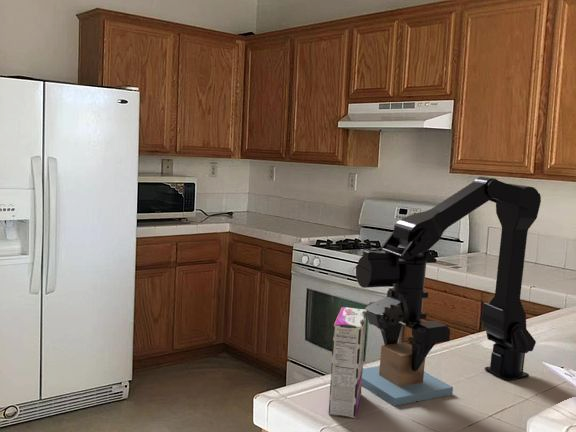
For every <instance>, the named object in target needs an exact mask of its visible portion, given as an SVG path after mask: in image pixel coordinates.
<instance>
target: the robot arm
mask: <svg viewBox="0 0 576 432" xmlns="http://www.w3.org/2000/svg"><path fill="white" fill-rule="evenodd" d="M541 200H542V197H541V194H540V193H539V191H538V190H537V188H536V187H534V186H529V185H523V184H522V185H521V184H516V183H506V182H503V181H500V180H498V179H497V178H495V177H488V176H487V177H486V176H479V177H476V178H474V180H472V182H471V183H469V184H468V185H466V186H465V187H463V188H461V189H460V190H458V191H457V192H455V193H454V194H453V195H452V194H451V195H450V196H449V197H447V198H446V199H444V200H443V201H441V202H440V203H438V204H437V205H435V206H434V207H432V208H430V209H427V210H424V211H420V212H417V213H412V214H411V215H408V216H406V217H403V218H401V219H398V221H397V222H395V224H394V226H393V231H391V233H390V235H388V236H389V237H388V238H387V239H386V240H385V242H384V243H383V244H382V246H381V247H380V248H379V250H369V249H365V250H363V251H362V257H360V258H359V259H358V261H357V265H356V266H355V277H356V280H357V284H358V285H359V286H360V287H361V288H363V289H365V288H367V289H369V288H384V287H385V288H387V287H388V290H387V292H386V297H385V298H381V299H378V300H376V301H370V302H369V303H368V304H367V305H366V306H365V308H364V309H365V310H367V313H366V319H367V322H368V324H369V325H371V326H372V325H373V326H375V327H376V328H377V329H379V330H380V332H381V336H382V339H383V344H384V345H390V344H397V343H399V339H400V334H401V330H402V327H403V326H405V327H406V328H409V329H411V335H412V337H411V336H410V337H409V336H408V337H407V338H406V339H407V340H408V342H409V343H410V345H412V371H417V370H418V369H419V367H420V366H421V364H422V362H423V361H424V359H425V360H426V357H427V356H428V355H429V353H430V351H431V350H432V349H433V348H434V346H436V344H439V343H444V342H446V343H447V342H450V340H451V339H450V337H451V328H449V326H448V325H446V324H444V323H442V322H440V321H437V320H428V321H427V320H426V321H422V320H425V319H427V313H426V312H424V311H423V307H424V306H423V304H424V299H427V298H428V299H429V292H428V291H425V281H426V272H427V271H426V270H427V264H436V263H437V258H435V256H433V255H432V253H431V251H430V249H431V248H433V247H434V246H435V245H436V244H437V243H438V242H439V241H440V240H441V238H442V236H443V234H444V232H445V231H446V230H447V229H448V228H450V227H451V226H452V225H454V224H455V223H457V222H459V221H460V220H462V219H463V218H465V217H466V216H468V215H469V214H470V213H472V212H473V211H475V210H477V209H478V208H480V207H481V206H483V205H484V204H486V203H488V202H493V203H495V211H496V212H495V214H496V215H497V216H496V217H497V218H498V221H499V224H500V225H501V234H500V241H499V242H500V243H499V254H498V263H497V271H496V282H495V290H494V295H493V297H492V298H491V300H490V301H489V302H483V305H482V315H481V318H480V322H481V323H482V327H483V329H484V330H485V333H486V337H487V340H488V341H492V342H493V345H492V351H491V355H490V363H489V364H490V365H489V366H485V367H484V370H485V371H486V372H489V373H491V374H493V375H495V376H497V377H499V378H501V379H503V380H506V381H512V380H518V379H522V378H528V377H529V375H530V374H529V373H527V372H525V371H524V366H525V356H526V354H528V353H529V352H533V351H534V348H535V346H536V343H537V341H536V339H535V338H534V337H533V335H532V334H531V333H530V332H529V330H528V329H527V314H526V311H525V309H524V306H523V304H522V303H523V302H522V300H521V292H522V285H523V284H522V283H523V277H524V276H523V275H524V267H525V265H524V264H525V257H526V249H527V240H528V239H527V238H528V232H529V230H530V228H531V227H532V225H533V224H534V223H535V221H536V220H537V217H538V214H539V212H540V208H541V202H542V201H541ZM392 286H393V287H392Z"/></svg>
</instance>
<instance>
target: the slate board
mask: <svg viewBox="0 0 576 432" xmlns="http://www.w3.org/2000/svg"><path fill="white" fill-rule="evenodd" d="M379 369H380V365H377V366H372V367H371V366H370V367H365V368H363V371H362V386H361V387H363V388H365V389H367V390H369V391H370V392H371V393H373V394H375V396H378V397H380V398H381V399H382V400H384V401H386V402H387V403H388V404H390V405H391V404H392V405H391V406H393V407H397V405H398V406H401V405H402V404H403V405H406V403H408V404H411V403H412V402H413V403H417V402H416V401H418V402H421V401H422V400H423V401H427V400H431V399H437V398H443V397H448V396H452V395H453V394H454V393H453V392H454V387H453V386H452V385H450V384H448V383H447V382H445V381H442V380H441V379H439V378H437V377H435V376H434V375H431V374H429V373H427V372H426V371H424V377H423V382H422V383H416V384H411V385H405V386H400V387H398V386H396V385H395V384H393V383H391V382H390V381H388V380H386V379H385V378H383V377H381V376H380V375H379Z"/></svg>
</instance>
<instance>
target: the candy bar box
mask: <svg viewBox="0 0 576 432" xmlns="http://www.w3.org/2000/svg"><path fill="white" fill-rule="evenodd" d="M366 313H367V310H366V309H365V308H364V309H363V308H357V307H349V306H343V307H341V308H340V311H339V312H338V315H337V317H336V320H335V322H334V324H333V336H332V348H331V349H332V350H331V366H330V367H331V370H330V371H331V373H330V385H329V386H330V387H329V388H330V390H329V401H328V403H329V405H328V415H330V416H333V417H341V418H348V419H349V418H350V419H356V417H357V412H358V408H359V404H360V400H361V395H362V387H363V386H362V371H363V367H364V355H365V354H364V353H365V352H364V351H365V338H366V325H367V324H366V323H367V322H366V321H367V316H366Z"/></svg>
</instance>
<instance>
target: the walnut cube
mask: <svg viewBox="0 0 576 432" xmlns="http://www.w3.org/2000/svg"><path fill="white" fill-rule="evenodd" d="M425 363H426V358H425V359H424V361H423V362H422V364H421V366H420V367H419V369H418V370H417V371H412V344H411V343H410V344H409V343H408V342H398V343H397V344H390V345H385V344H384V345H381V348H380V359H379V366H380V369H379V375H380V376H381V377H383V378H385V379H386V380H388V381H390V382H391V383H393V384H395V385H396V386H398V387H400V386H405V385H411V384H416V383H422V382H423V377H424V372H425V365H426V364H425Z"/></svg>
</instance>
